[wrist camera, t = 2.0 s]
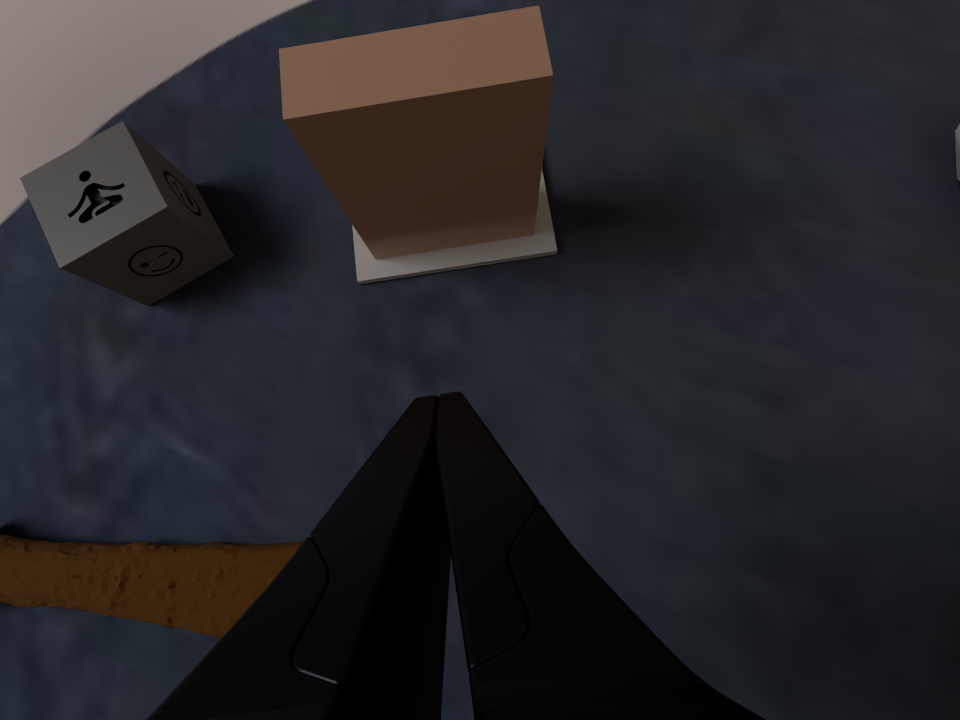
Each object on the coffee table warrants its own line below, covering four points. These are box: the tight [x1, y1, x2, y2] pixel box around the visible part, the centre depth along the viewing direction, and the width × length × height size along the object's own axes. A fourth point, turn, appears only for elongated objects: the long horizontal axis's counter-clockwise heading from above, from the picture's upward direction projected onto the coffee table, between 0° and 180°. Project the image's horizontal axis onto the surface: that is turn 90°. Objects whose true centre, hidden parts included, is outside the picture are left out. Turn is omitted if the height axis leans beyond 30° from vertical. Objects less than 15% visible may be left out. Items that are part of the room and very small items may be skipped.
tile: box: [279, 6, 553, 260], centre depth 19 cm, size 3×8×10 cm, turn 98°
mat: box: [352, 172, 557, 284], centre depth 25 cm, size 13×10×1 cm
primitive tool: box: [0, 530, 304, 639], centre depth 20 cm, size 19×6×4 cm, turn 87°
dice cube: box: [20, 121, 234, 306], centre depth 23 cm, size 5×5×5 cm
